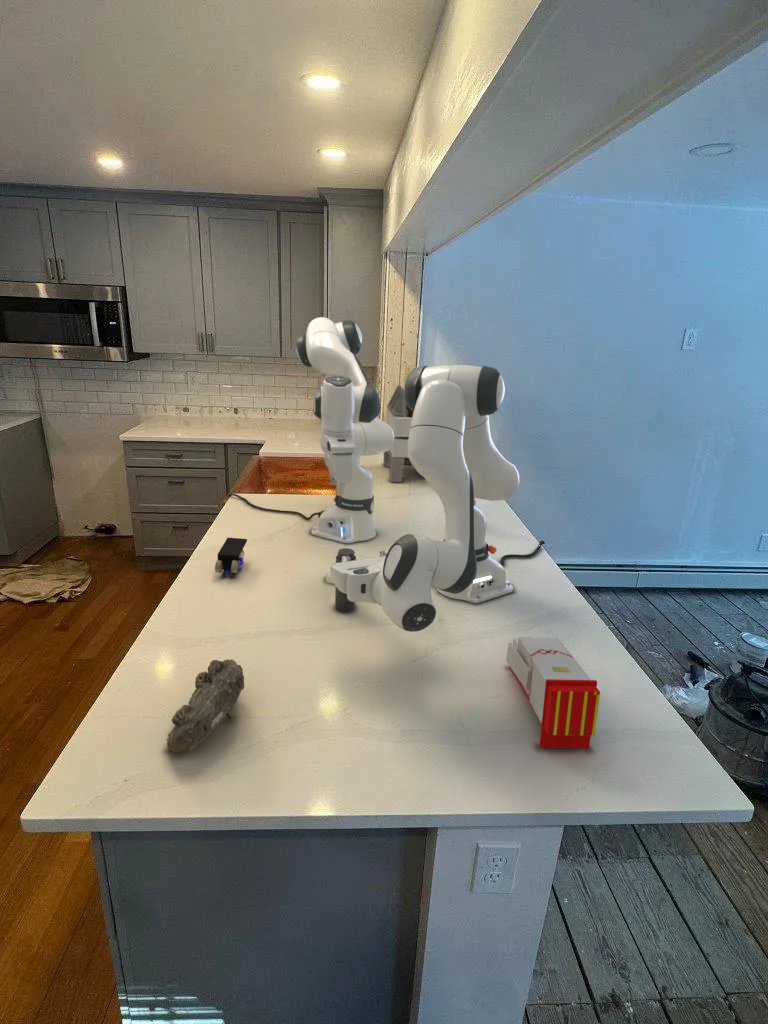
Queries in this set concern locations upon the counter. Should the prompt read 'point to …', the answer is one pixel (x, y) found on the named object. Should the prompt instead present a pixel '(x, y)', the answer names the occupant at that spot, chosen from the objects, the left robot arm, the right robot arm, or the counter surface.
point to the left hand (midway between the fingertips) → (336, 489)
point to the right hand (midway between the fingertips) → (364, 556)
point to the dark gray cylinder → (340, 598)
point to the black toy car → (230, 556)
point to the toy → (555, 691)
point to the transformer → (398, 434)
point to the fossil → (206, 705)
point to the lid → (328, 577)
